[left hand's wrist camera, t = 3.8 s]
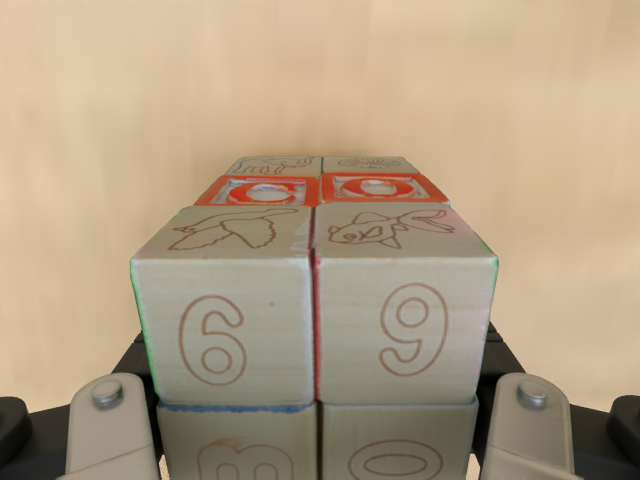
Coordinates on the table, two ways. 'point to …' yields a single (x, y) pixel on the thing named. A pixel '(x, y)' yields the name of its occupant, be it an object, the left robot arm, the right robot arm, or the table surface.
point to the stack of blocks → (316, 324)
